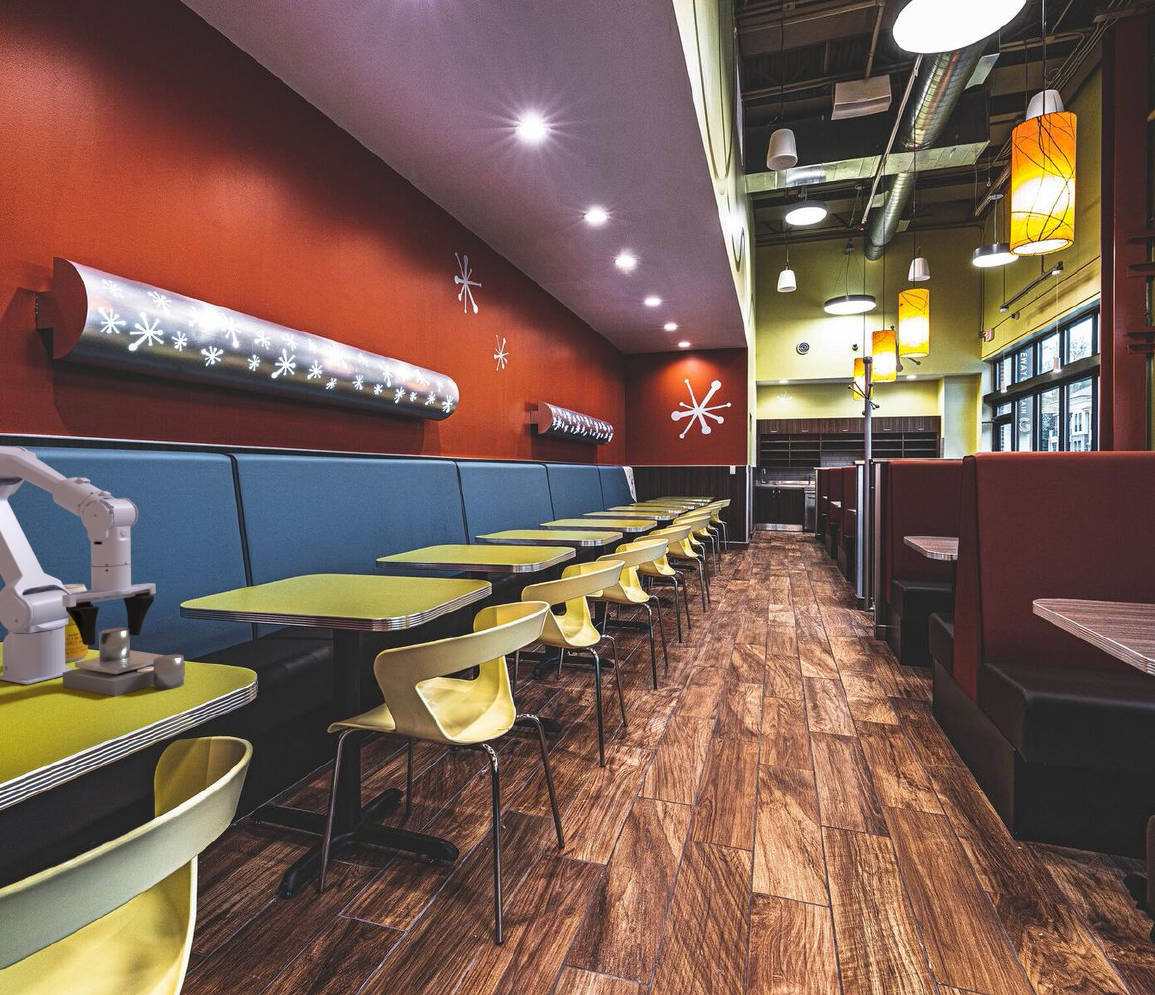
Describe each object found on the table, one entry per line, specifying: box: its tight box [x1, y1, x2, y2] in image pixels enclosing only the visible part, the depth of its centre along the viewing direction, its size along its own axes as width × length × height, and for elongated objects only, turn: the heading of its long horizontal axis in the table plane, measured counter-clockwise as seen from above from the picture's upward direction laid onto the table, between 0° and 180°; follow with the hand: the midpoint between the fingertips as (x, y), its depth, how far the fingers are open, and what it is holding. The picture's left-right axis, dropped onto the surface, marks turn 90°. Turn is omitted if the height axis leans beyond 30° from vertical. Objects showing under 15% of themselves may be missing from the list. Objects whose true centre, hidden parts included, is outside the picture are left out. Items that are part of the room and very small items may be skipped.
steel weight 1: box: [98, 627, 131, 662], centre depth 110 cm, size 4×4×5 cm
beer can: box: [63, 583, 89, 664], centre depth 123 cm, size 6×6×15 cm
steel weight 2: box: [153, 654, 185, 691], centre depth 106 cm, size 4×4×5 cm
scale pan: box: [74, 650, 165, 674], centre depth 109 cm, size 11×9×1 cm
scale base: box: [62, 662, 186, 697], centre depth 109 cm, size 14×12×3 cm
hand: (112, 639), depth 110 cm, fingers open, 7 cm apart
